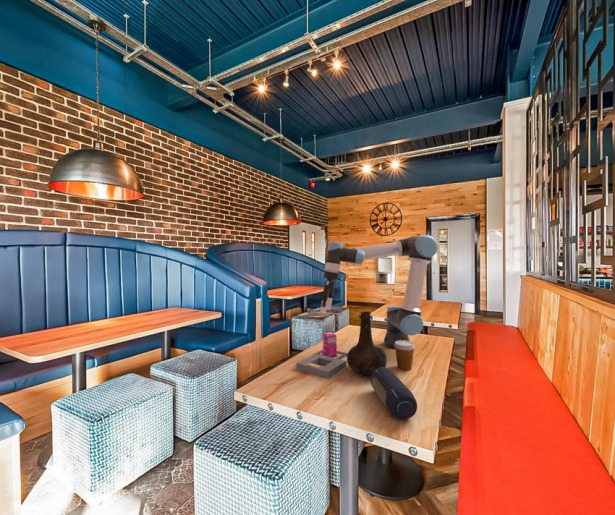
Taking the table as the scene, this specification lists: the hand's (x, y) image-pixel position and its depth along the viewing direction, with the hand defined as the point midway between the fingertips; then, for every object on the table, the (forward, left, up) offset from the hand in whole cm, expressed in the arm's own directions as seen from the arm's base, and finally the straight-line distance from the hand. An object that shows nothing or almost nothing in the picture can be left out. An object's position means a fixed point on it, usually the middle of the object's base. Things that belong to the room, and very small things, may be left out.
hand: (325, 311), depth 157 cm
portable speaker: (-46, +27, -24) cm, 58 cm away
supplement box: (0, -3, -24) cm, 25 cm away
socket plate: (-6, +14, -24) cm, 28 cm away
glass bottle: (-26, +7, -24) cm, 37 cm away
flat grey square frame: (0, -3, -24) cm, 24 cm away
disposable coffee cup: (-38, -9, -24) cm, 46 cm away
